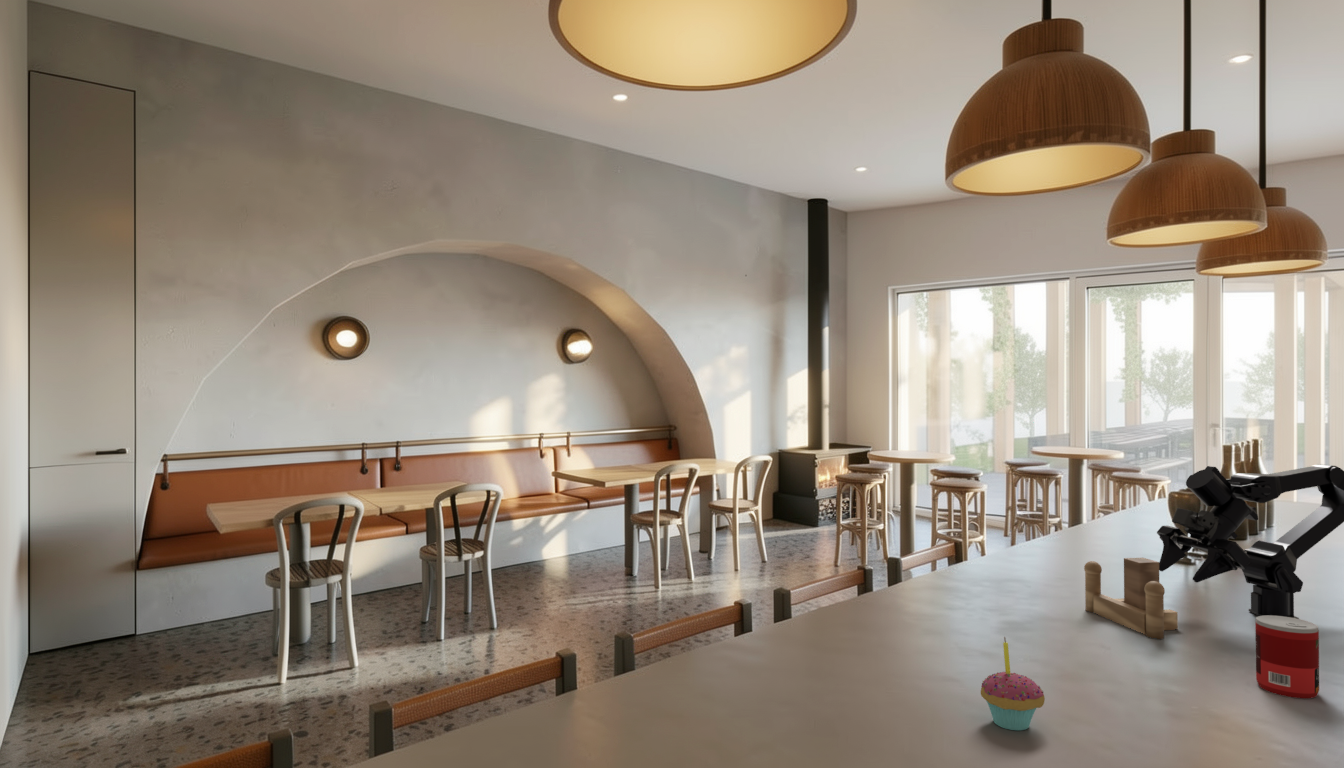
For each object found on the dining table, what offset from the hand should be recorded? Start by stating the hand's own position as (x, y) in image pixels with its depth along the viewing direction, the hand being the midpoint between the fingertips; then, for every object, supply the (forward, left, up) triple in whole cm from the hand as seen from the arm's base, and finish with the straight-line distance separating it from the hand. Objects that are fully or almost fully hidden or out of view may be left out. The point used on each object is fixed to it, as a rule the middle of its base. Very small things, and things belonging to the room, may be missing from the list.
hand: (1176, 575), depth 161 cm
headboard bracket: (+9, +2, -9) cm, 13 cm away
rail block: (+8, +2, -10) cm, 13 cm away
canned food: (+2, +38, -10) cm, 39 cm away
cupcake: (+50, +57, -10) cm, 77 cm away
